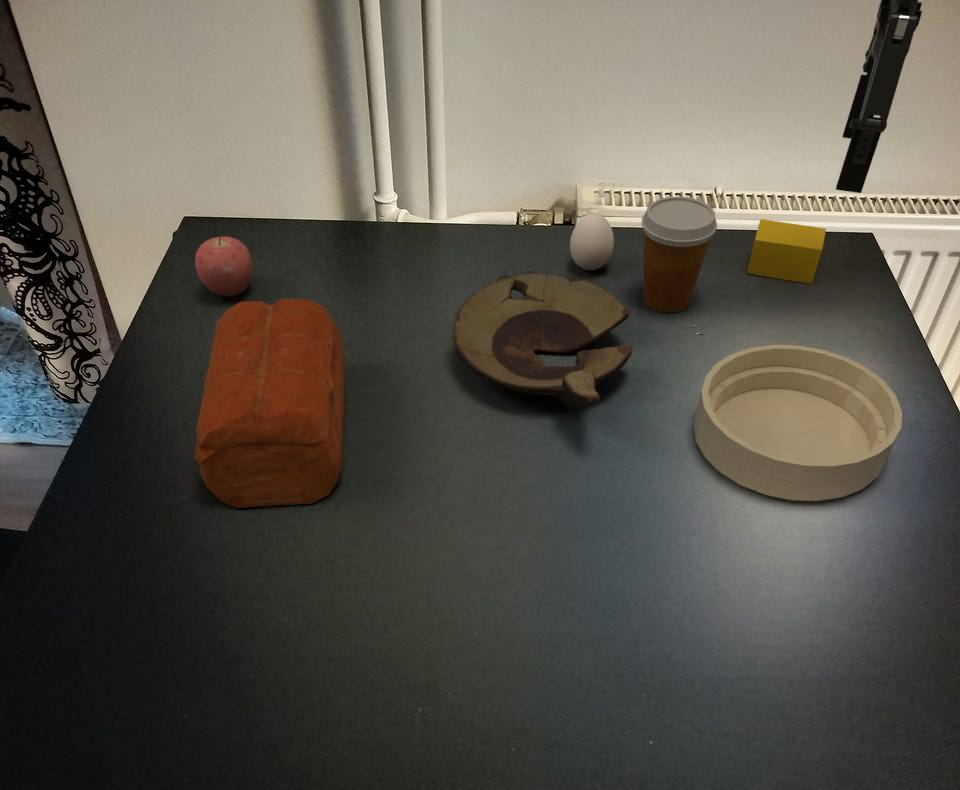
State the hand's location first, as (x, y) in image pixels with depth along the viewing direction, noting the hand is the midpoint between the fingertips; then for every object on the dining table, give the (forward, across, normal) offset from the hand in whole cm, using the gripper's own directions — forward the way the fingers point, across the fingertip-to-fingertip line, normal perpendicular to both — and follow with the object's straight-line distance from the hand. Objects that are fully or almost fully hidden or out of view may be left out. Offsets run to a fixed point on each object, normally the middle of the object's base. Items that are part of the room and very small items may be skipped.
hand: (851, 163), depth 102 cm
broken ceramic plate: (+21, +21, -30) cm, 42 cm away
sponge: (+20, -13, -4) cm, 24 cm away
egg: (+21, -5, -30) cm, 37 cm away
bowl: (+20, +26, 0) cm, 32 cm away
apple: (+21, +15, -76) cm, 81 cm away
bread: (+21, +40, -57) cm, 73 cm away
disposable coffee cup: (+20, 0, -18) cm, 27 cm away
